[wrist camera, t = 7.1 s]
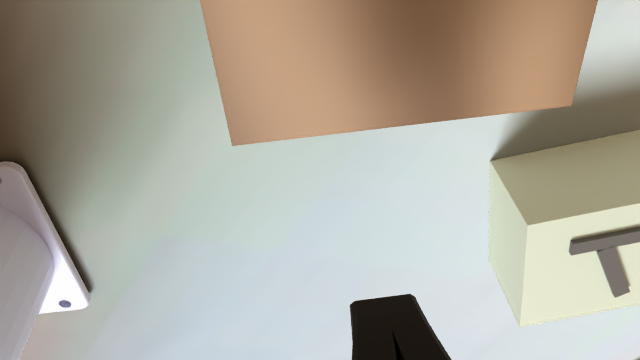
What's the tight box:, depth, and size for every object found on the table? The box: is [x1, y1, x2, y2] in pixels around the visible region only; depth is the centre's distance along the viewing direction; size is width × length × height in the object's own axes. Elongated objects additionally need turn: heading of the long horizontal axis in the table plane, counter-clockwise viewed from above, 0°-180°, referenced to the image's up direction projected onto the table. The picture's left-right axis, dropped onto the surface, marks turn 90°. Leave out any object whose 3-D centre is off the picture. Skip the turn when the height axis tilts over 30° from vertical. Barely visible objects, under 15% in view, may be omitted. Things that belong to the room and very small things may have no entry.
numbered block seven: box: [489, 130, 640, 327], centre depth 21 cm, size 6×6×4 cm
